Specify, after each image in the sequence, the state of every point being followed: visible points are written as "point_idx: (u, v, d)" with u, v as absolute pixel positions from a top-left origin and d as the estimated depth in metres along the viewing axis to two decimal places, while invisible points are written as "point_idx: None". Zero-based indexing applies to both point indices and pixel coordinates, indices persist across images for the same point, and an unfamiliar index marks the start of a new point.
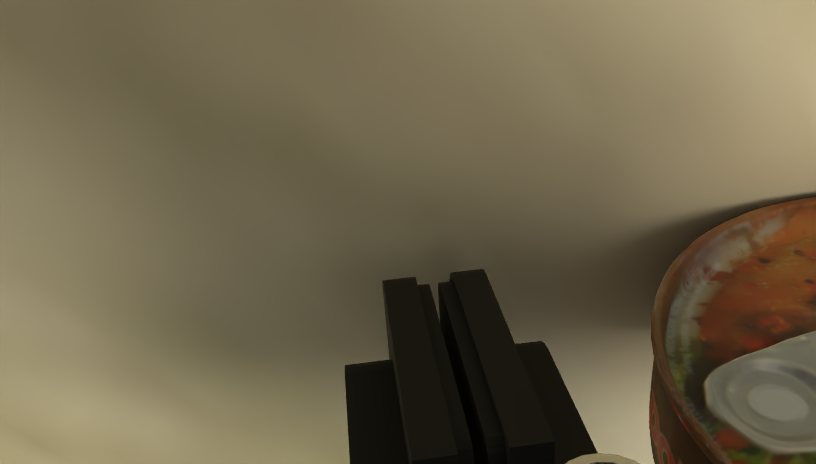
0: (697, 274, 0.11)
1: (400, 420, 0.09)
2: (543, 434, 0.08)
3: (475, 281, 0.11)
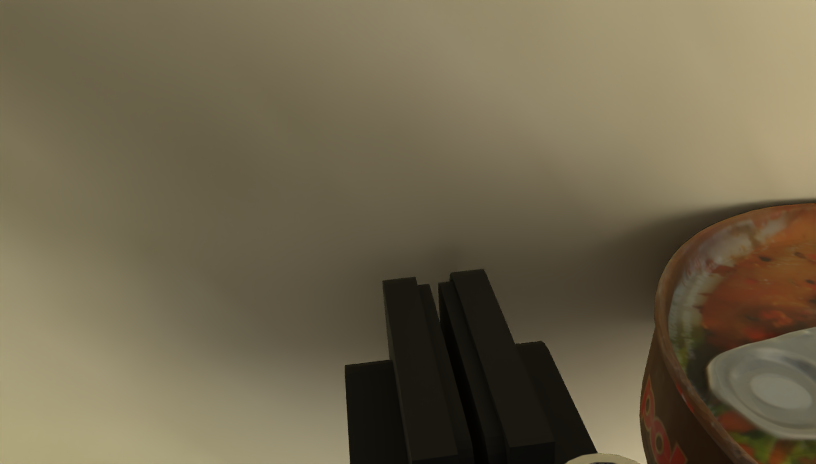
0: (699, 265, 0.11)
1: (400, 420, 0.09)
2: (543, 434, 0.08)
3: (475, 281, 0.11)
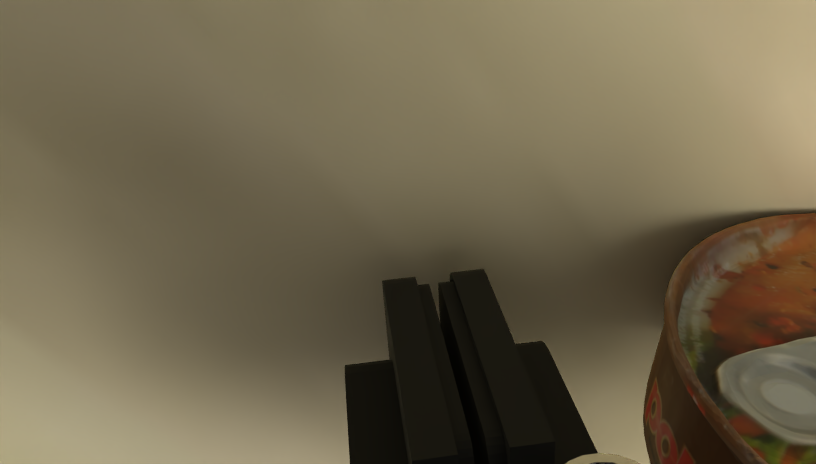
0: (708, 270, 0.11)
1: (400, 420, 0.09)
2: (543, 434, 0.08)
3: (475, 281, 0.11)
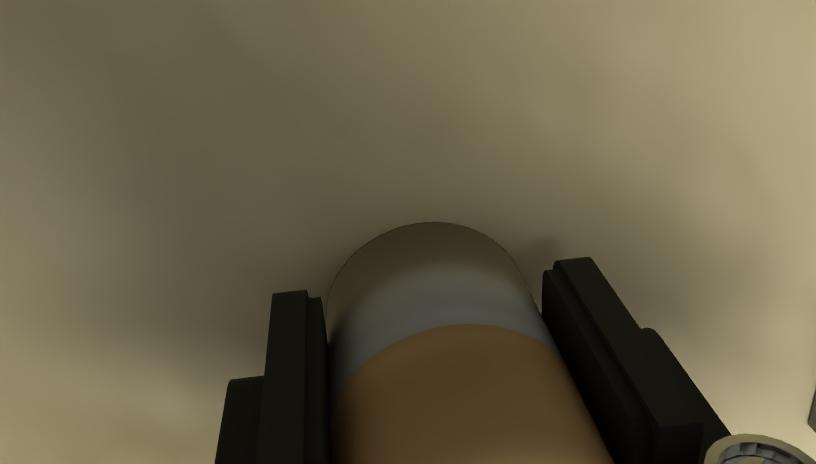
0: None
1: None
2: (691, 414, 0.08)
3: (584, 268, 0.11)
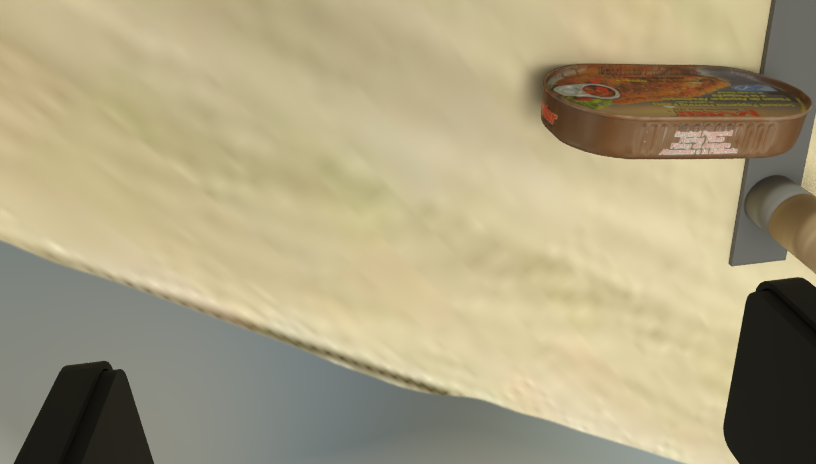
0: (559, 74, 0.42)
1: None
2: None
3: (804, 290, 0.10)
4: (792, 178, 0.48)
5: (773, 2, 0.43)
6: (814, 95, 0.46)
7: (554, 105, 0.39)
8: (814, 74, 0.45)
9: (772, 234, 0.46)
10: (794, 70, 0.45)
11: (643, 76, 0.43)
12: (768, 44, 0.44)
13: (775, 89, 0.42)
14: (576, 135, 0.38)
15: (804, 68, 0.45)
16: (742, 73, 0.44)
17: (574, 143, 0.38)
